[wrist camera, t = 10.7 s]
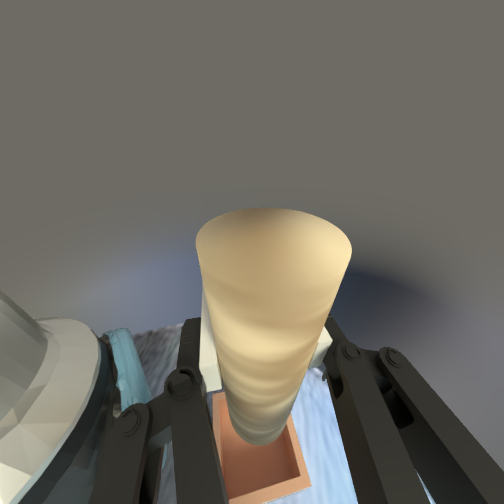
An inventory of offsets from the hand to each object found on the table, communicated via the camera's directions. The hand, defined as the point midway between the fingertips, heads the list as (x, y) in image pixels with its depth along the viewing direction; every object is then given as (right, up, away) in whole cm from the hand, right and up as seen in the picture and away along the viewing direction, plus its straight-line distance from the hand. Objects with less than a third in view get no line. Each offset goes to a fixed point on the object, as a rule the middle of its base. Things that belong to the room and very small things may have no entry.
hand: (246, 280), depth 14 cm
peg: (+1, -10, +1) cm, 10 cm away
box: (+1, -24, +10) cm, 26 cm away
